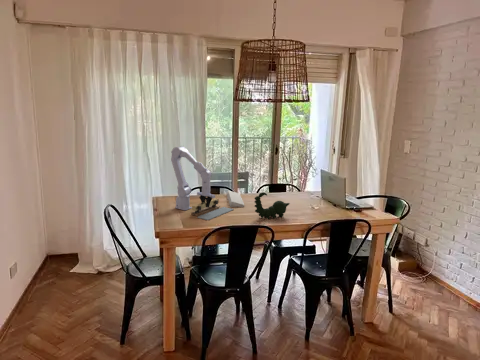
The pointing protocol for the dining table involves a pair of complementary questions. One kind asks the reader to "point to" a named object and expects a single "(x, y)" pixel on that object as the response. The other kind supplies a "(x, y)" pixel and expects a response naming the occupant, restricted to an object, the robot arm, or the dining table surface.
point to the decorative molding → (235, 199)
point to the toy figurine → (270, 208)
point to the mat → (215, 213)
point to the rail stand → (205, 209)
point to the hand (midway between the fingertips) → (205, 206)
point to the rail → (204, 204)
